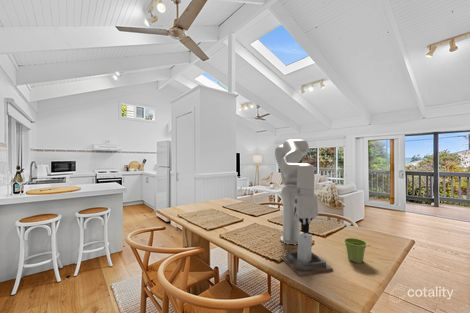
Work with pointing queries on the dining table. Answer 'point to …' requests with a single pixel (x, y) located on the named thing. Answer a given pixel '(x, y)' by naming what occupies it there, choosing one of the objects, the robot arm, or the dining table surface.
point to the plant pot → (355, 249)
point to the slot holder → (306, 269)
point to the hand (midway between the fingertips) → (305, 232)
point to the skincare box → (304, 248)
